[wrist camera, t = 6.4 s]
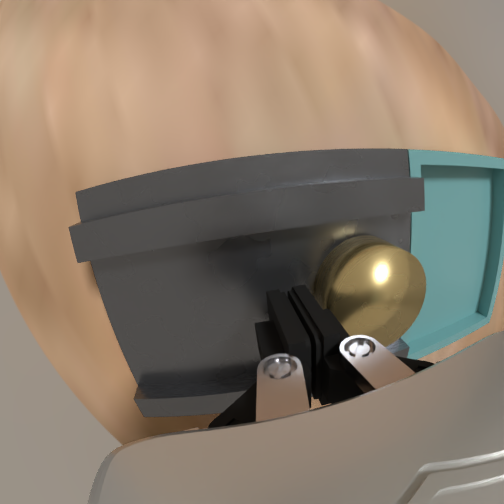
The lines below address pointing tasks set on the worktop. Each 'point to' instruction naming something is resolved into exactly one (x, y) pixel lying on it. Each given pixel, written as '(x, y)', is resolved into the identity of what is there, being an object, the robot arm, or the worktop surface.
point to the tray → (456, 245)
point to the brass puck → (371, 288)
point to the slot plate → (227, 258)
